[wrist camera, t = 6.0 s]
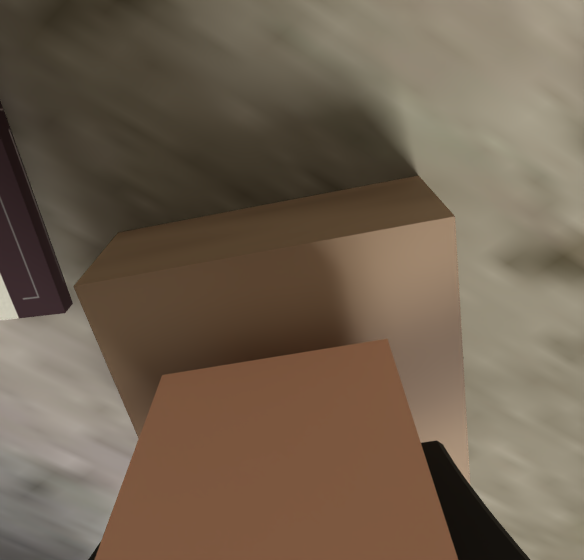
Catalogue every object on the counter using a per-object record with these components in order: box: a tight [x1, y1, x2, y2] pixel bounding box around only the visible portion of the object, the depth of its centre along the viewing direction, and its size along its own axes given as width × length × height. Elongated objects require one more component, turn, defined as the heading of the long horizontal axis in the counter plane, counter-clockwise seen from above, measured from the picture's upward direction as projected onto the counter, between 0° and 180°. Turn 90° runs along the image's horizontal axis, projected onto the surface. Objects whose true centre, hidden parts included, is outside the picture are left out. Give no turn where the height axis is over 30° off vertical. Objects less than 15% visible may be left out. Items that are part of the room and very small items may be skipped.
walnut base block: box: [74, 176, 470, 484], centre depth 14 cm, size 8×8×4 cm
